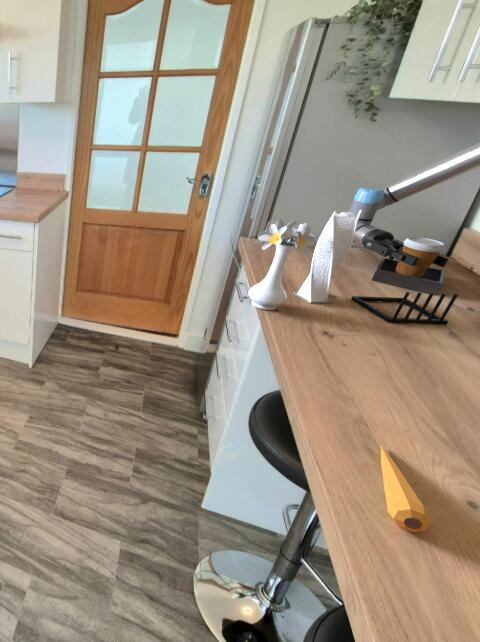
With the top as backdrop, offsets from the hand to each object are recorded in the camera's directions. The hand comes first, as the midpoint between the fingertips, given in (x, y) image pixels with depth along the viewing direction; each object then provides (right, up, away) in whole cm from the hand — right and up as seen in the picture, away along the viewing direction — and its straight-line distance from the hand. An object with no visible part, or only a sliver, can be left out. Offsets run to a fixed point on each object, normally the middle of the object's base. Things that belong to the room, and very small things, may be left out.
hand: (430, 262), depth 133 cm
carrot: (-75, -42, -64) cm, 108 cm away
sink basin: (0, -5, +8) cm, 10 cm away
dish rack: (-22, -15, -11) cm, 29 cm away
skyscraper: (-40, -12, -4) cm, 42 cm away
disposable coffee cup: (0, -4, +7) cm, 8 cm away
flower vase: (-58, -13, -8) cm, 60 cm away
